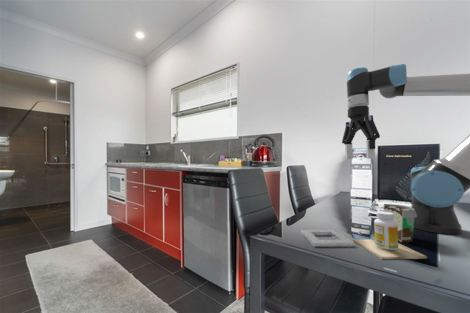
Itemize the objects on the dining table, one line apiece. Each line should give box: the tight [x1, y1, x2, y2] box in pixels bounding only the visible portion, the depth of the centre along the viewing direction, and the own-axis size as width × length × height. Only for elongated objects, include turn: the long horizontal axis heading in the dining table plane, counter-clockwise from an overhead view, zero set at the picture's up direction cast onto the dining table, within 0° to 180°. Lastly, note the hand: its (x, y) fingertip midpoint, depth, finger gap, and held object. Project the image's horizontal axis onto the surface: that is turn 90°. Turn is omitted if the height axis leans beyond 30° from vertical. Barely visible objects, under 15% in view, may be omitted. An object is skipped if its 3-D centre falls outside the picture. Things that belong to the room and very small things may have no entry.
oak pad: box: [352, 238, 428, 260], centre depth 59 cm, size 12×12×1 cm
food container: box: [382, 203, 417, 243], centre depth 68 cm, size 12×6×10 cm, turn 168°
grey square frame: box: [299, 229, 356, 248], centre depth 66 cm, size 12×12×1 cm
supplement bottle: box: [373, 210, 399, 250], centre depth 59 cm, size 5×5×10 cm
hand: (359, 158), depth 83 cm, fingers open, 13 cm apart
